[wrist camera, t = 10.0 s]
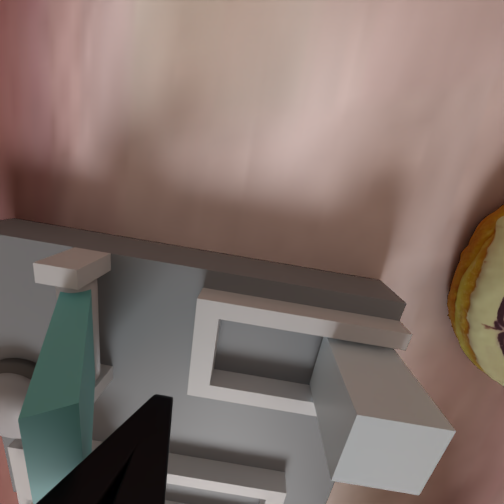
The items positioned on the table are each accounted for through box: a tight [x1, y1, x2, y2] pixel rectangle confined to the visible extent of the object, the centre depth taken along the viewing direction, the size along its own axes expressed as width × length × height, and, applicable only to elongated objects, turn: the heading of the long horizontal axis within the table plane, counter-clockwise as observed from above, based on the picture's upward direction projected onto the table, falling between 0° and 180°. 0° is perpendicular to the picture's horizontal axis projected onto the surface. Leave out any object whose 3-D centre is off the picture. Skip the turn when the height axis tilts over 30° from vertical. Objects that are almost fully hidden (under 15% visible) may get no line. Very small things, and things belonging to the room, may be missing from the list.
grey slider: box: [309, 337, 456, 495], centre depth 10 cm, size 3×3×4 cm
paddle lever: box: [18, 279, 101, 504], centre depth 8 cm, size 1×5×7 cm
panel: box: [0, 218, 412, 504], centre depth 13 cm, size 20×18×4 cm
